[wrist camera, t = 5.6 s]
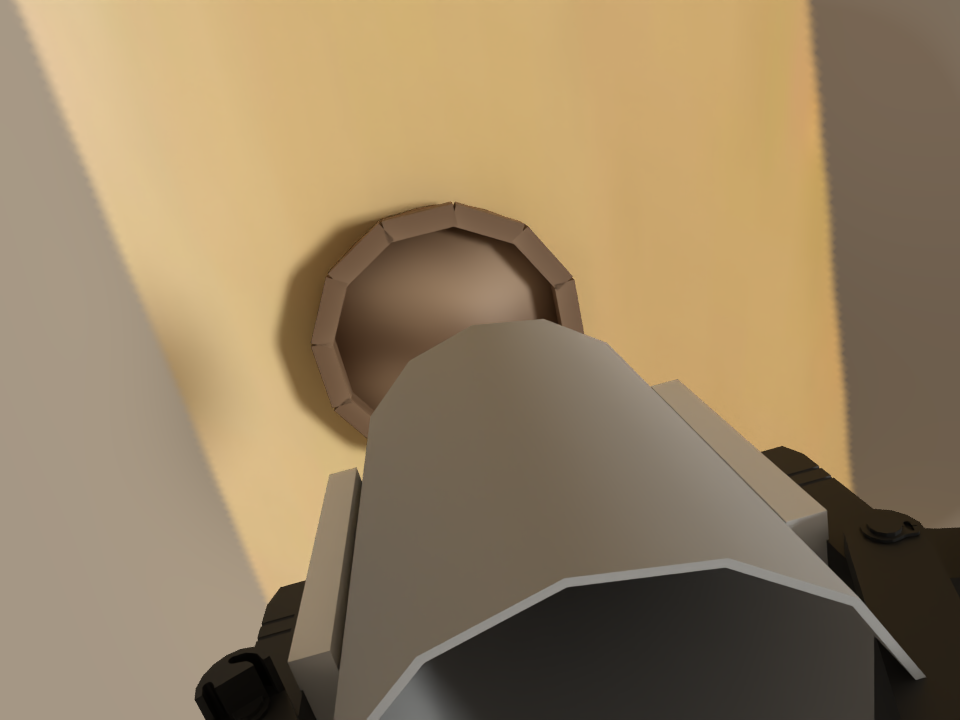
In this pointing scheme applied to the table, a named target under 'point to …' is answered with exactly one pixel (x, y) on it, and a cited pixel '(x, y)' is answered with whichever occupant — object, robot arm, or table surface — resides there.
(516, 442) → the cup
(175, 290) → the table surface
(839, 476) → the table surface
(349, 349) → the tray
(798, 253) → the table surface
